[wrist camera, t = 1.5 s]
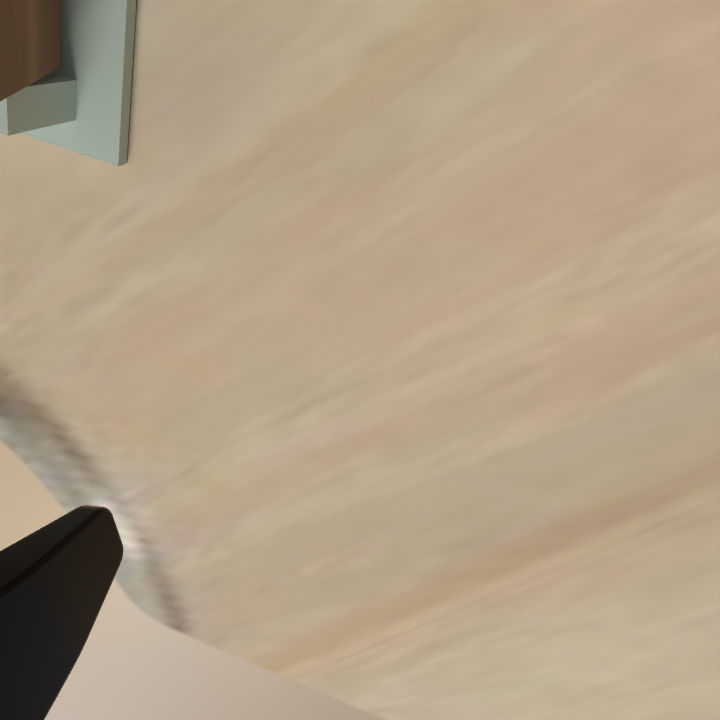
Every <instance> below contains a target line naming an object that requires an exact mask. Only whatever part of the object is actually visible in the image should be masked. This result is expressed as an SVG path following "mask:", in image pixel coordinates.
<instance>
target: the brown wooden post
mask: <svg viewBox="0 0 720 720" xmlns="http://www.w3.org/2000/svg"><path fill="white" fill-rule="evenodd" d="M61 30H62V0H0V101H2V100H4V99H6V98H7V97H9V96H11V95H13V94H14V93H16V92H18V91H20V90H21V89H23V88H25V87H27V86H29V85H30V84H32V83H34V82H36V81H37V80H39V79H41V78H43V77H44V76H46V75H48V74H50V73H51V72H53V71H55V70H57V69H58V68H60V67H61Z"/></svg>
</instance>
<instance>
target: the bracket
mask: <svg viewBox="0 0 720 720" xmlns="http://www.w3.org/2000/svg"><path fill="white" fill-rule="evenodd" d="M136 1H137V0H62V30H61V67H60V68H58V69H57V70H55V71H53V72H51V73H50V74H48V75H46V76H44V77H43V78H41V79H39V80H37V81H36V82H34V83H32V84H30V85H29V86H27V87H25V88H23V89H21V90H20V91H18V92H16V93H14V94H13V95H11V96H9V97H7V98H6V99H4V100H2V101H0V133H3V134H5V135H12V134H17V133H23V134H26V135H28V136H31V137H34V138H37V139H40V140H43V141H46V142H49V143H52V144H55V145H57V146H60V147H63V148H66V149H69V150H72V151H75V152H78V153H81V154H84V155H86V156H89V157H92V158H95V159H98V160H101V161H104V162H107V163H110V164H113V165H116V166H121V165H123V164H126V163H127V150H128V134H129V117H130V101H131V84H132V67H133V51H134V34H135V18H136Z"/></svg>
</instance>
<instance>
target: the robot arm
mask: <svg viewBox="0 0 720 720" xmlns="http://www.w3.org/2000/svg"><path fill="white" fill-rule="evenodd" d="M122 556H123V545H122V541H121V539H120V536H119V533H118V530H117V527H116V524H115V521H114V518H113V515H112V513H111V512H110V510H109V509H107V508H105V507H97V506H87V505H86V506H81V507H78V508H76V509H75V510H73V511H71V512H69V513H67V514H66V515H64V516H62V517H60V518H59V519H57V520H55V521H53V522H52V523H50V524H48V525H46V526H44V527H43V528H41V529H39V530H37V531H36V532H34V533H32V534H30V535H28V536H27V537H25V538H23V539H21V540H20V541H18V542H16V543H14V544H12V545H11V546H9V547H7V548H5V549H3V550H2V551H0V720H44V719H45V717H46V716H47V714H48V712H49V710H50V708H51V707H52V705H53V703H54V701H55V699H56V698H57V696H58V694H59V692H60V690H61V688H62V687H63V685H64V683H65V681H66V680H67V678H68V675H69V674H70V672H71V670H72V669H73V667H74V665H75V663H76V661H77V659H78V657H79V655H80V653H81V651H82V649H83V647H84V645H85V643H86V640H87V638H88V636H89V634H90V631H91V629H92V627H93V625H94V622H95V620H96V617H97V616H98V613H99V611H100V609H101V606H102V604H103V602H104V600H105V597H106V595H107V593H108V591H109V588H110V586H111V584H112V581H113V579H114V577H115V575H116V572H117V570H118V568H119V565H120V563H121V560H122Z"/></svg>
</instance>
